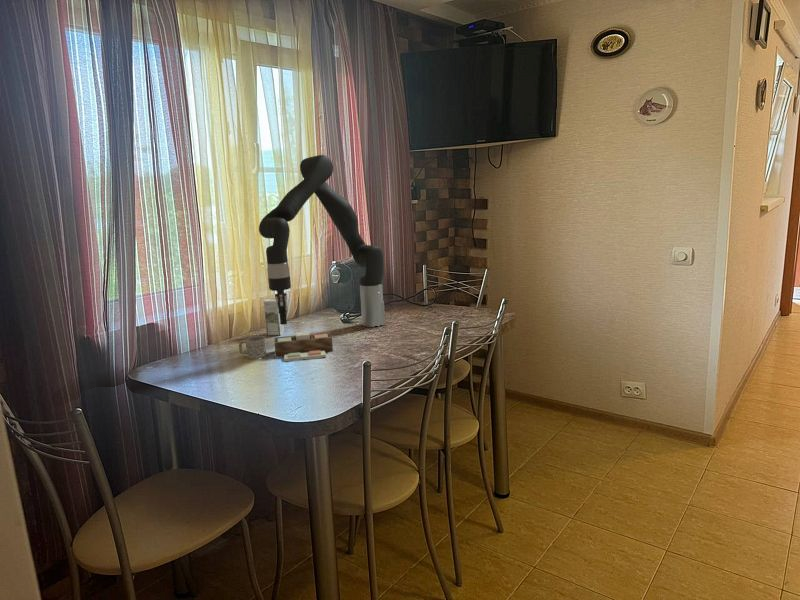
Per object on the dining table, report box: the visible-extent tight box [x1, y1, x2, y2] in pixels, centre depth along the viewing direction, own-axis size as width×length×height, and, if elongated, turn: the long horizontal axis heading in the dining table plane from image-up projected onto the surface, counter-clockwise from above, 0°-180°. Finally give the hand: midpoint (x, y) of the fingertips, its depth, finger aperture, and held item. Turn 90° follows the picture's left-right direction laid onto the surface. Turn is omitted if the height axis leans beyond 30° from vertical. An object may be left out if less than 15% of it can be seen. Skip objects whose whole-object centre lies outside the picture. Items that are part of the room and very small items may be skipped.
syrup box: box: [263, 297, 285, 337], centre depth 230 cm, size 6×6×14 cm
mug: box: [238, 335, 267, 360], centre depth 202 cm, size 10×7×7 cm
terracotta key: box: [314, 334, 328, 339], centre depth 206 cm, size 5×5×2 cm
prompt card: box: [283, 350, 327, 362], centre depth 198 cm, size 14×5×2 cm, turn 102°
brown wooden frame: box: [274, 331, 334, 358], centre depth 205 cm, size 20×8×5 cm, turn 102°
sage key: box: [278, 337, 292, 342], centre depth 204 cm, size 5×5×2 cm
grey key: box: [295, 330, 311, 340], centre depth 205 cm, size 5×5×2 cm
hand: (283, 323), depth 203 cm, fingers closed
